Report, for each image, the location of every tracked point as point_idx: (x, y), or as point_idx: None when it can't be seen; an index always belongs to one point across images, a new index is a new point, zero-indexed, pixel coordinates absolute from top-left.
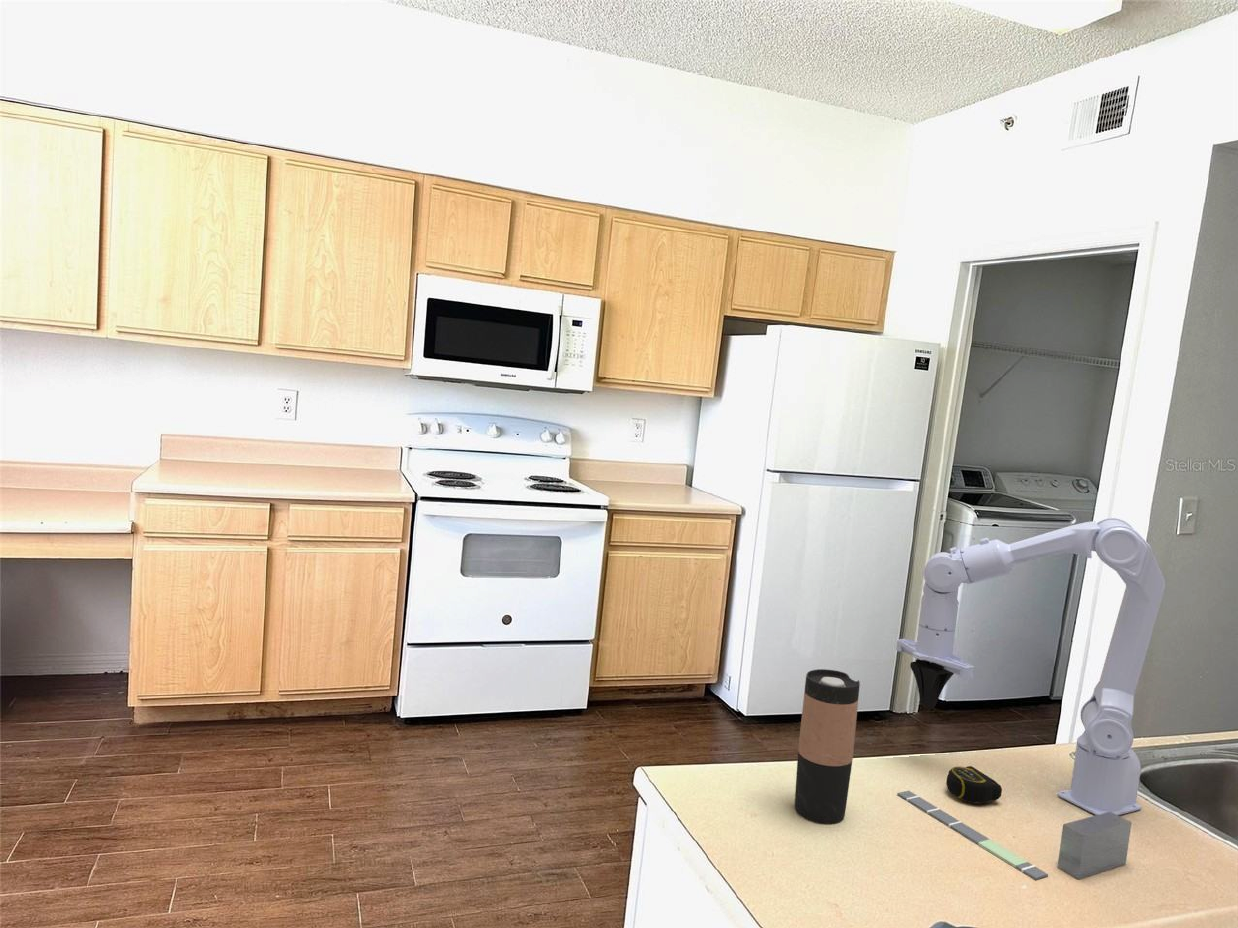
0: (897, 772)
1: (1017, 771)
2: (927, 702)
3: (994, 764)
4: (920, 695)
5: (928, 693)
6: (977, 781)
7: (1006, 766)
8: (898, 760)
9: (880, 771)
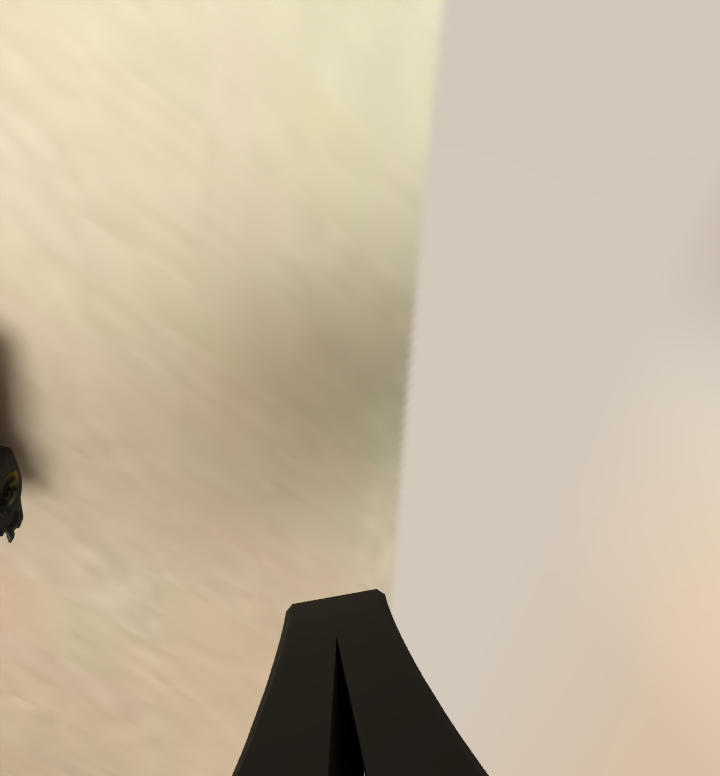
0: (223, 139)
1: (169, 757)
2: (275, 660)
3: (249, 711)
4: (382, 669)
5: (236, 772)
6: None
7: (223, 744)
8: (380, 264)
9: (252, 13)
